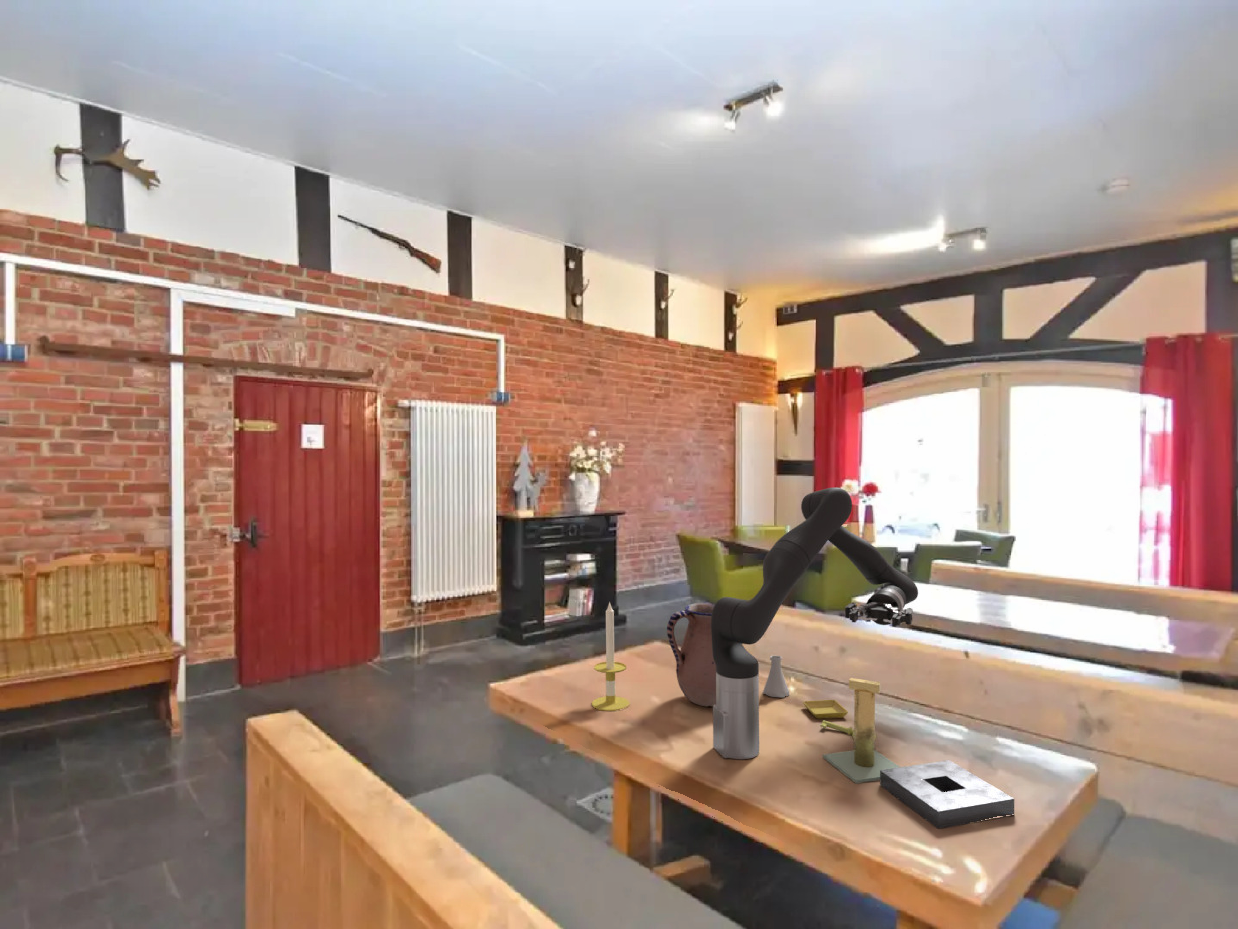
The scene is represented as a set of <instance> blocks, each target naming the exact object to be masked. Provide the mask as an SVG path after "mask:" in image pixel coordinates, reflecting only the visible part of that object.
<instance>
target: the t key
mask: <svg viewBox="0 0 1238 929" xmlns="http://www.w3.org/2000/svg"><path fill="white" fill-rule="evenodd" d="M848 689H849V690H854V691H853V692H854V694H853V696H854V701H853V702H854V703H853V704H854V712H853V714H854V716H853V717H854V719H853V720H854V721H853V722H854V724H853V725H854V726H853V727H854V728H853V730H854V740H853V741H854V742H853V750H854V763H855V764H856V765H858V766H861V767H873V766H874V765H875V746H876V745H875V744H876V743H875V741H876V739H875V734H876V731H875V730H876V728H875V726H876V719H875V718H876V694H877V695H878V694H880V693H881V691H882V682H880V681H874V680H867V679H860V678H855V677H850V678H849V680H848Z"/></svg>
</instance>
